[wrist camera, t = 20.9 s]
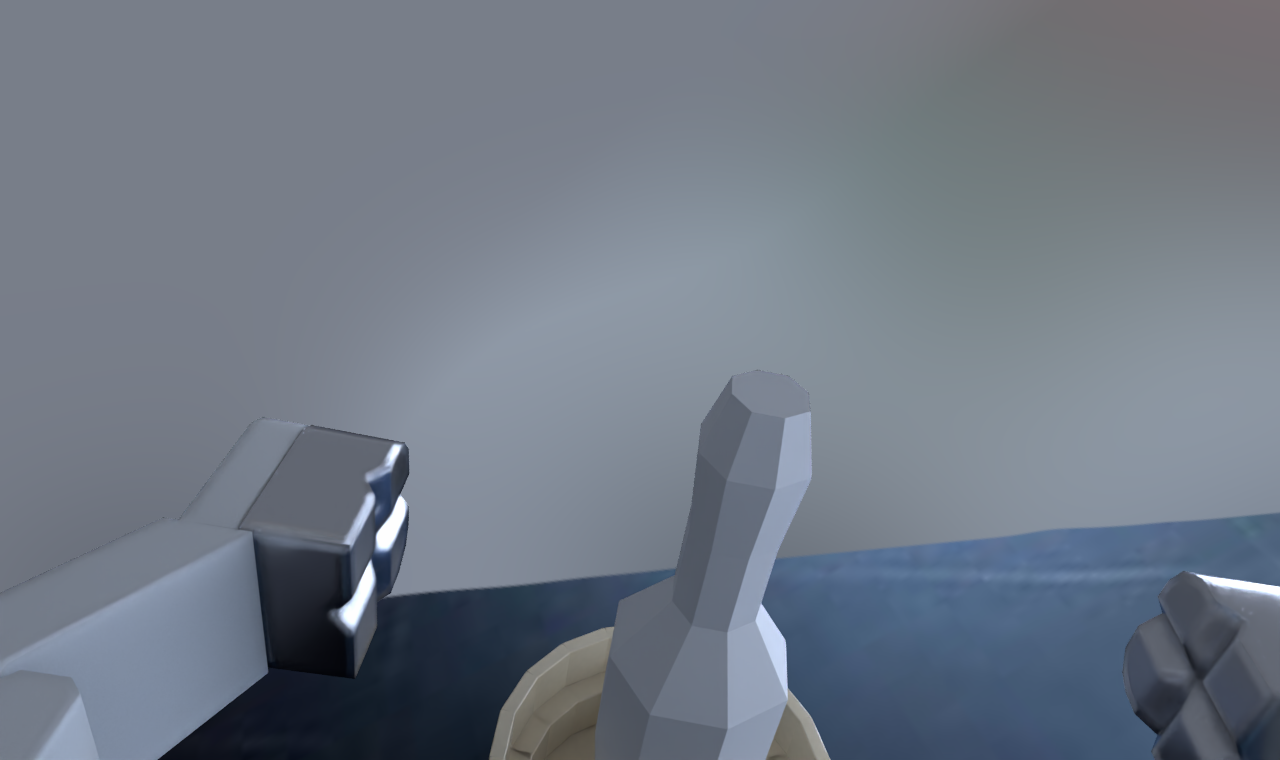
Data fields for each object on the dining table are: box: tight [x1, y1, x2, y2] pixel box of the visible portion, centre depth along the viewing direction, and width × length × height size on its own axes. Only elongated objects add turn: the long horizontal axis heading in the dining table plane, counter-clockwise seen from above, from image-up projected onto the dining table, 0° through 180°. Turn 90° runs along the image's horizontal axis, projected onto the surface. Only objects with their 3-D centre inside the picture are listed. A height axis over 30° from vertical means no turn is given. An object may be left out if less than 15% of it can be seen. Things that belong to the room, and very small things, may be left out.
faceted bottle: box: [595, 370, 812, 760], centre depth 31 cm, size 6×6×22 cm
